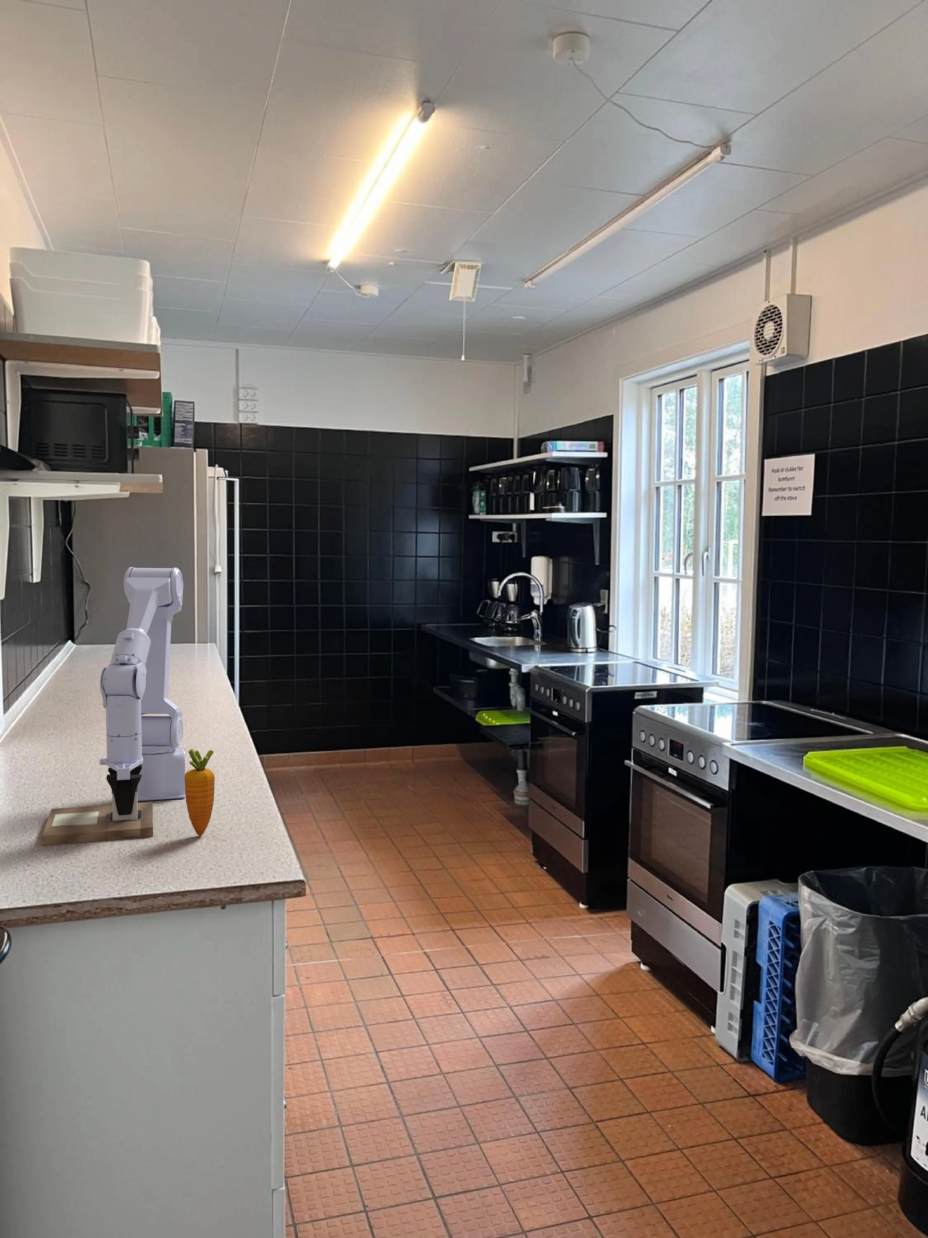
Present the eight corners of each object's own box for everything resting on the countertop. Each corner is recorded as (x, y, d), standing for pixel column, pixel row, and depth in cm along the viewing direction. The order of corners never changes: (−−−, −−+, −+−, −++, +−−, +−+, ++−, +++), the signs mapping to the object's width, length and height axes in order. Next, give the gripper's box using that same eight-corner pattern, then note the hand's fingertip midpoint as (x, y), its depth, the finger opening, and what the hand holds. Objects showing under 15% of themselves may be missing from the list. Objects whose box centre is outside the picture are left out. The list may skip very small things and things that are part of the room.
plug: (138, 820, 166) (137, 781, 165) (138, 827, 162) (137, 787, 161) (113, 822, 164) (112, 782, 164) (112, 829, 160) (111, 789, 160)
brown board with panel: (152, 809, 172) (152, 800, 172) (153, 836, 157) (152, 826, 157) (52, 817, 167) (51, 807, 167) (42, 845, 152) (42, 835, 151)
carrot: (218, 831, 160) (217, 745, 159) (211, 840, 155) (210, 751, 154) (189, 831, 160) (188, 744, 159) (181, 840, 155) (180, 751, 154)
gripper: (101, 726, 167) (102, 801, 168) (97, 743, 154) (98, 824, 155) (143, 724, 170) (144, 798, 171) (142, 741, 156) (143, 821, 157)
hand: (125, 810), depth 163 cm, fingers closed on plug, 4 cm apart
